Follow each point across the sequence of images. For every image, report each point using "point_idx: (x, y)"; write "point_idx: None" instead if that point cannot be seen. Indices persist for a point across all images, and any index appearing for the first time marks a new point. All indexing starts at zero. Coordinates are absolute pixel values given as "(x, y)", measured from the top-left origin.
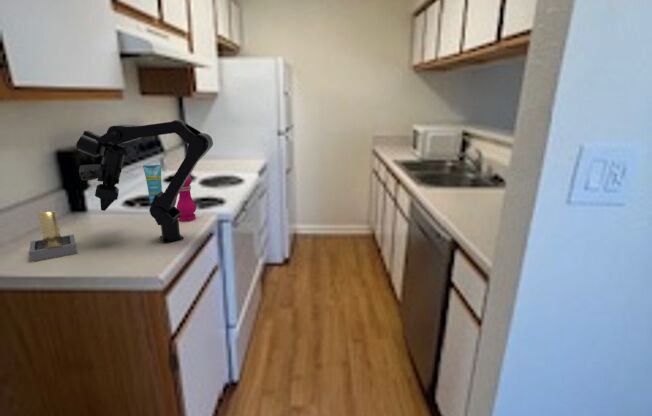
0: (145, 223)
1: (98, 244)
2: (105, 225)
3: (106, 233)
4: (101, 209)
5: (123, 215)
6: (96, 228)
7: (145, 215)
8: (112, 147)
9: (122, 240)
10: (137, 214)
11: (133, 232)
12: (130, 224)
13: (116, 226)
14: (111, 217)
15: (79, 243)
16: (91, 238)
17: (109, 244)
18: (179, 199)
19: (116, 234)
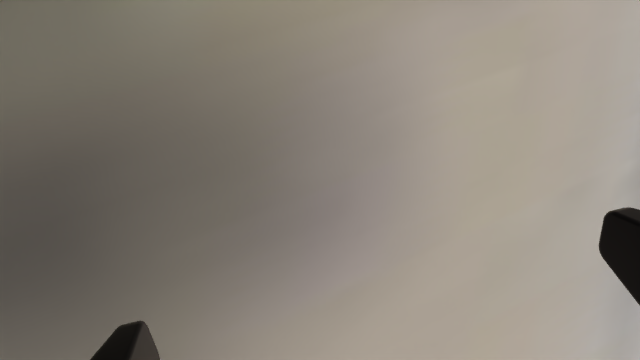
0: (479, 331)
1: (47, 179)
2: (493, 81)
3: (329, 146)
4: (106, 346)
5: (634, 132)
6: (448, 38)
7: None
8: None
9: None
10: None
11: (313, 338)
12: (480, 241)
13: (460, 162)
14: (618, 71)
15: (111, 4)
16: (230, 68)
17: (28, 277)
18: None
19: (291, 230)
